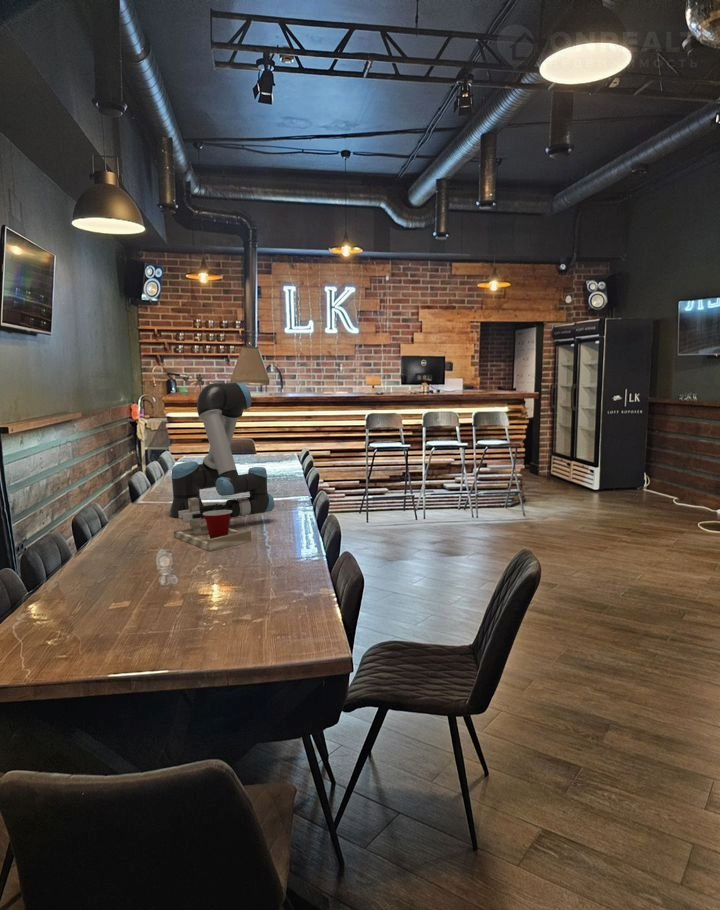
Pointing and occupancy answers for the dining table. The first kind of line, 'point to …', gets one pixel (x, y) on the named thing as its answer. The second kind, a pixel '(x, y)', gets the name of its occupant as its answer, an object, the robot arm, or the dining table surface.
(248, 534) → the open rectangular frame
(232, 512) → the robot arm
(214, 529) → the plastic cup
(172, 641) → the dining table surface
